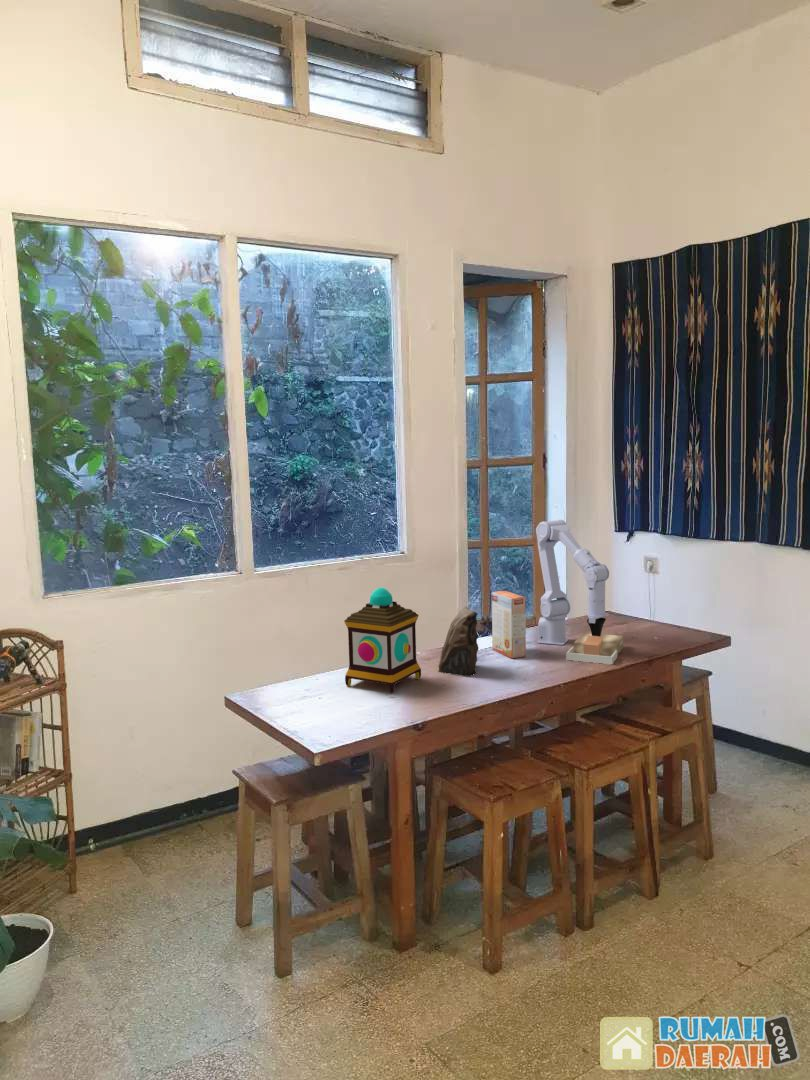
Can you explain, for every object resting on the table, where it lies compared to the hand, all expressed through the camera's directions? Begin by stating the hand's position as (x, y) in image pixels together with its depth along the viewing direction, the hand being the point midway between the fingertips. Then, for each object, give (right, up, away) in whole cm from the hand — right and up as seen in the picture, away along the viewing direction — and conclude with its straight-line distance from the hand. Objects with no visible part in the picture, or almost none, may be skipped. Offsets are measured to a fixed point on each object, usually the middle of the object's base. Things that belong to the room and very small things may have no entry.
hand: (596, 639), depth 280 cm
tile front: (-2, -2, -5) cm, 6 cm away
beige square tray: (+2, -4, +5) cm, 7 cm away
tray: (-3, -6, -5) cm, 8 cm away
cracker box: (-29, -6, +4) cm, 30 cm away
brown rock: (-48, -9, -14) cm, 51 cm away
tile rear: (-1, -2, -2) cm, 3 cm away
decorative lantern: (-72, -11, -25) cm, 77 cm away
